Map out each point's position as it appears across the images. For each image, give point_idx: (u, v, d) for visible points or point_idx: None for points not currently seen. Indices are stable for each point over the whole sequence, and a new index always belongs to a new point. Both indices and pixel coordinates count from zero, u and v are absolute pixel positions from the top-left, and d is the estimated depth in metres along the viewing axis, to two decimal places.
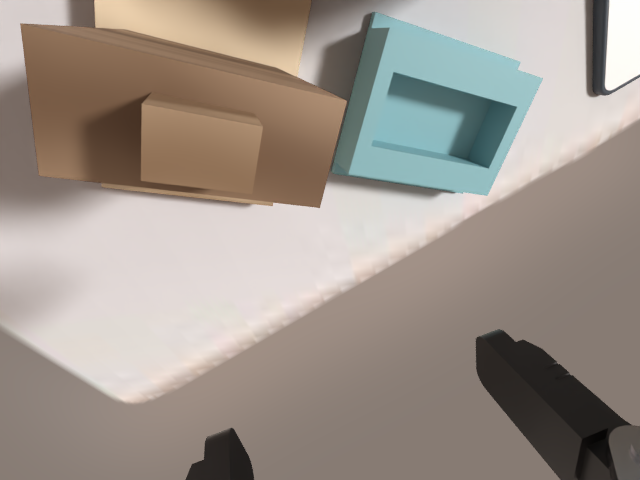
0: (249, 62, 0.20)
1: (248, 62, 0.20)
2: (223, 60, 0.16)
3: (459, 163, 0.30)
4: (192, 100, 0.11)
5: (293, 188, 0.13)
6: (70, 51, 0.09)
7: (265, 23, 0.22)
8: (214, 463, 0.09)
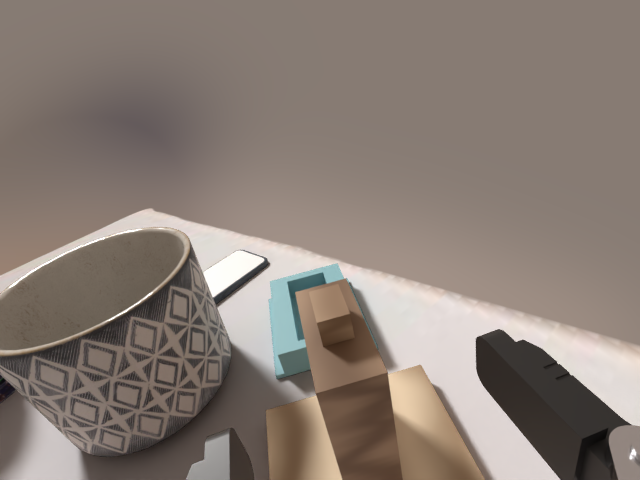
0: None
1: None
2: None
3: None
4: (319, 333, 0.22)
5: (341, 289, 0.26)
6: (319, 375, 0.20)
7: (306, 424, 0.32)
8: (214, 463, 0.09)
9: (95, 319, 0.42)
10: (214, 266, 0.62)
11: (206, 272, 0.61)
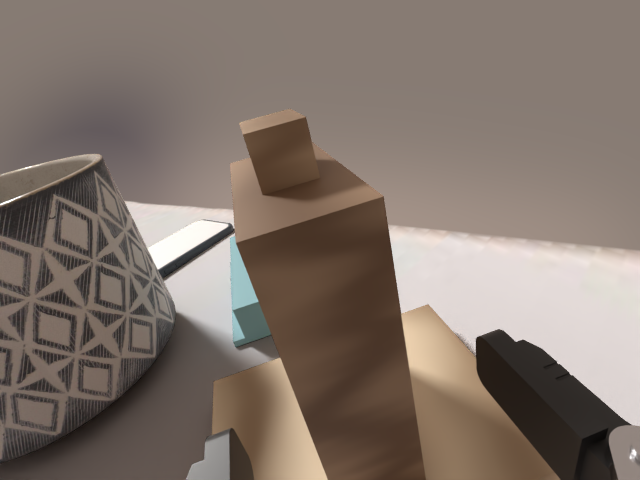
0: None
1: None
2: None
3: None
4: (258, 184, 0.12)
5: None
6: (248, 222, 0.10)
7: (270, 392, 0.22)
8: (214, 463, 0.09)
9: None
10: (168, 237, 0.51)
11: (158, 243, 0.50)
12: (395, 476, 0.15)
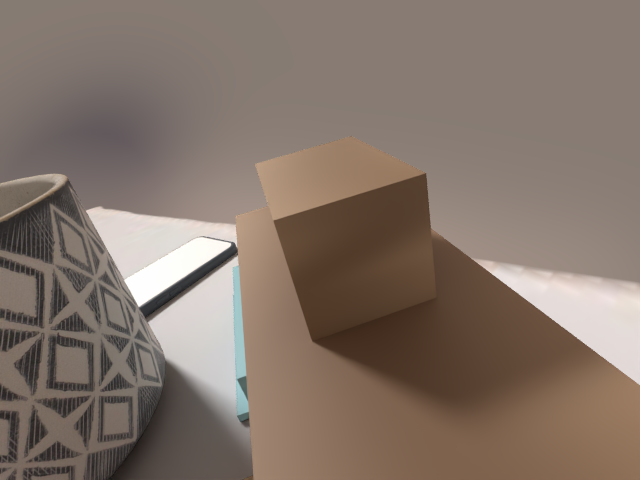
0: None
1: None
2: None
3: None
4: (296, 295, 0.06)
5: None
6: None
7: None
8: None
9: None
10: (163, 258, 0.45)
11: (150, 266, 0.44)
12: None
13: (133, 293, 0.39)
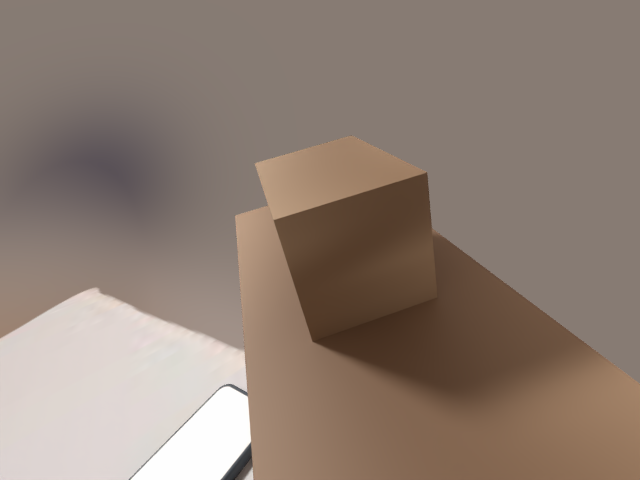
0: None
1: None
2: None
3: None
4: (296, 295, 0.06)
5: None
6: None
7: None
8: None
9: None
10: (185, 428, 0.36)
11: (170, 444, 0.35)
12: None
13: None
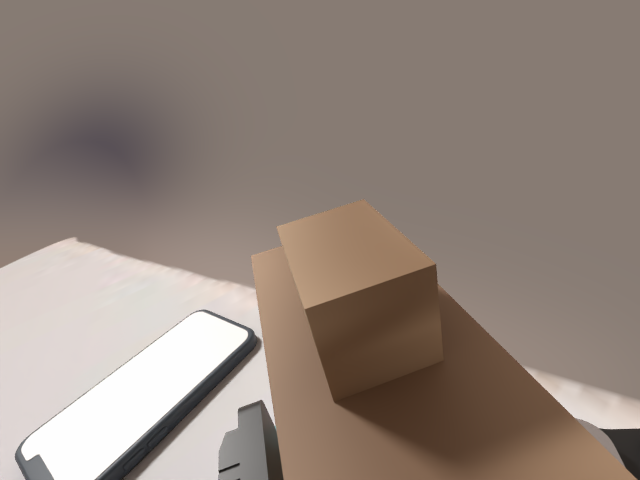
0: None
1: None
2: None
3: None
4: (316, 352, 0.07)
5: None
6: None
7: None
8: (248, 430, 0.10)
9: None
10: (144, 353, 0.30)
11: (124, 369, 0.28)
12: None
13: (88, 439, 0.23)
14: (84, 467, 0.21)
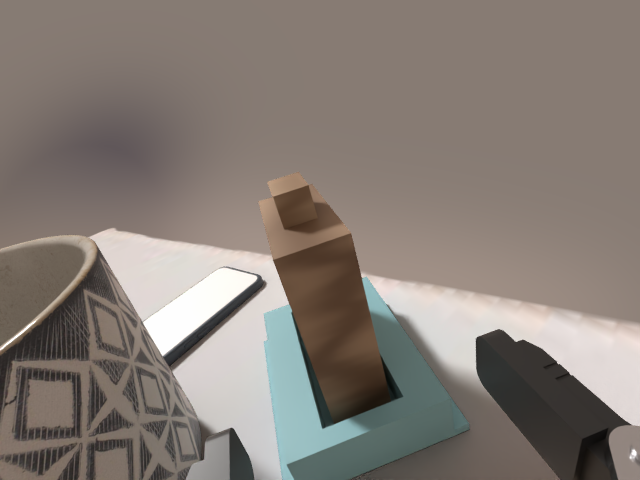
0: None
1: None
2: None
3: None
4: (280, 221, 0.21)
5: None
6: (278, 248, 0.18)
7: None
8: (214, 463, 0.09)
9: None
10: (187, 292, 0.44)
11: (175, 301, 0.42)
12: (371, 406, 0.23)
13: (159, 335, 0.37)
14: (161, 346, 0.35)
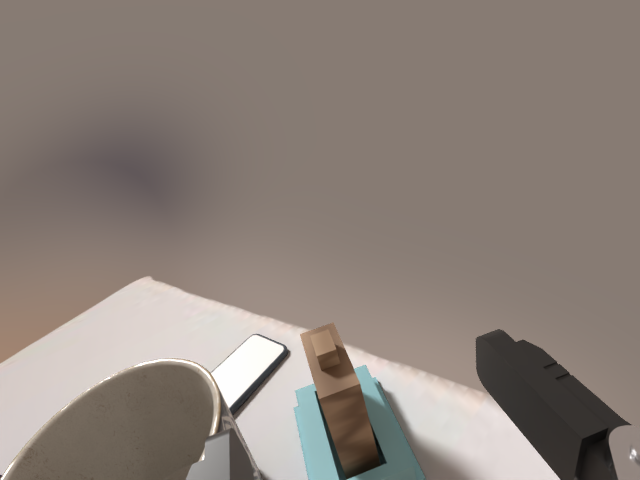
0: None
1: None
2: None
3: None
4: (318, 362, 0.35)
5: (330, 331, 0.39)
6: (320, 388, 0.33)
7: None
8: (214, 463, 0.09)
9: (110, 465, 0.38)
10: (230, 357, 0.58)
11: (222, 365, 0.57)
12: (368, 465, 0.38)
13: None
14: None
